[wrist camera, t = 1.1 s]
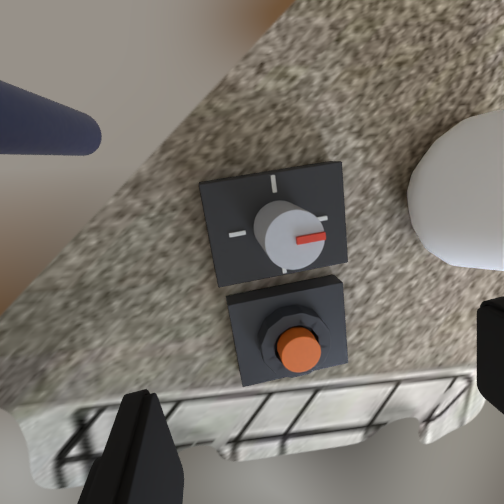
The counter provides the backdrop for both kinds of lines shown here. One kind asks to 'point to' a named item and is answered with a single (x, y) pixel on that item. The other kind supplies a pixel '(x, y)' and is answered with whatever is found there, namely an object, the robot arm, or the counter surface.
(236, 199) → the timer panel
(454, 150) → the cup
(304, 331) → the button
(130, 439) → the robot arm
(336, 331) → the block
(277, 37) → the counter surface
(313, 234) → the timer knob
